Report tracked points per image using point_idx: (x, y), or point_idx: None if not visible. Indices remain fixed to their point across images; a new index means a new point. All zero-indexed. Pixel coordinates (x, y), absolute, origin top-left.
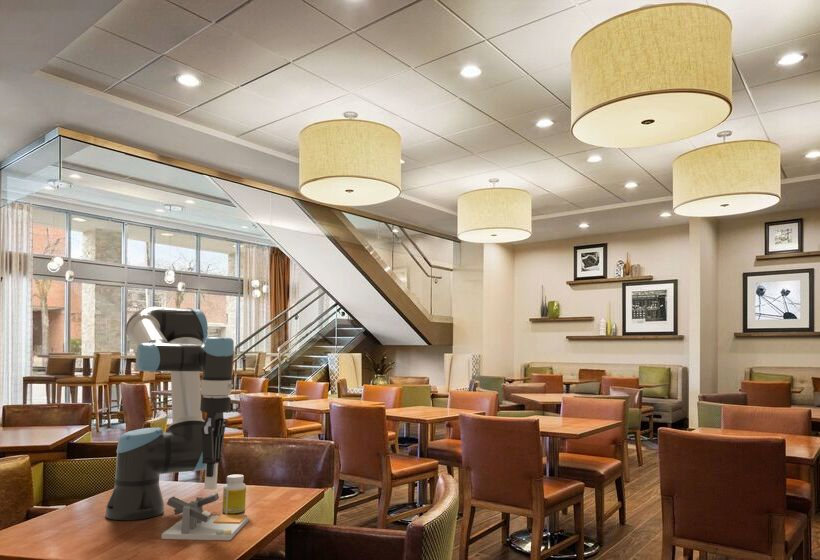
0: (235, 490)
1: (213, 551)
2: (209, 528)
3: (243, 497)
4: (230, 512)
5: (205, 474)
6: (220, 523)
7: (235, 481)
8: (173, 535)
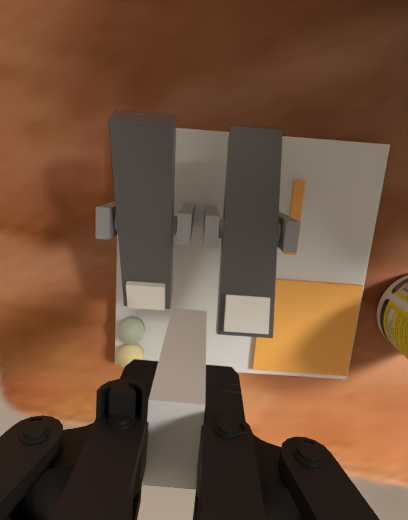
0: None
1: (9, 331)
2: (192, 280)
3: None
4: (384, 314)
5: (161, 351)
6: None
7: None
8: None
